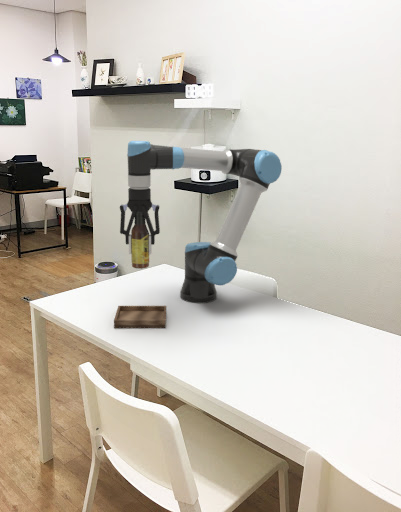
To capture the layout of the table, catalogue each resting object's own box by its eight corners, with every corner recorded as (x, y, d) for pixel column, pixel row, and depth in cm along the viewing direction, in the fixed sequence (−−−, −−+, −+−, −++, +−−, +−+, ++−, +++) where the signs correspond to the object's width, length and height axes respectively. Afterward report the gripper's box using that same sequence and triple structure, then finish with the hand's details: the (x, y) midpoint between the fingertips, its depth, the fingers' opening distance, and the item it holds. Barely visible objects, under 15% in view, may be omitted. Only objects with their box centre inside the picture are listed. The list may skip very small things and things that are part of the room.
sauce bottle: (148, 269, 170) (147, 213, 165) (130, 269, 170) (129, 212, 165) (150, 264, 176) (150, 209, 171) (133, 263, 176) (132, 209, 171)
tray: (166, 313, 186) (166, 305, 185) (165, 328, 172) (165, 320, 172) (118, 313, 185) (118, 305, 184) (114, 328, 172) (113, 320, 171)
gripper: (168, 186, 170) (167, 250, 176) (112, 185, 169) (114, 250, 175) (167, 189, 163) (167, 256, 169) (109, 188, 162) (111, 256, 168)
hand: (140, 253), depth 172 cm, fingers closed on sauce bottle, 6 cm apart
